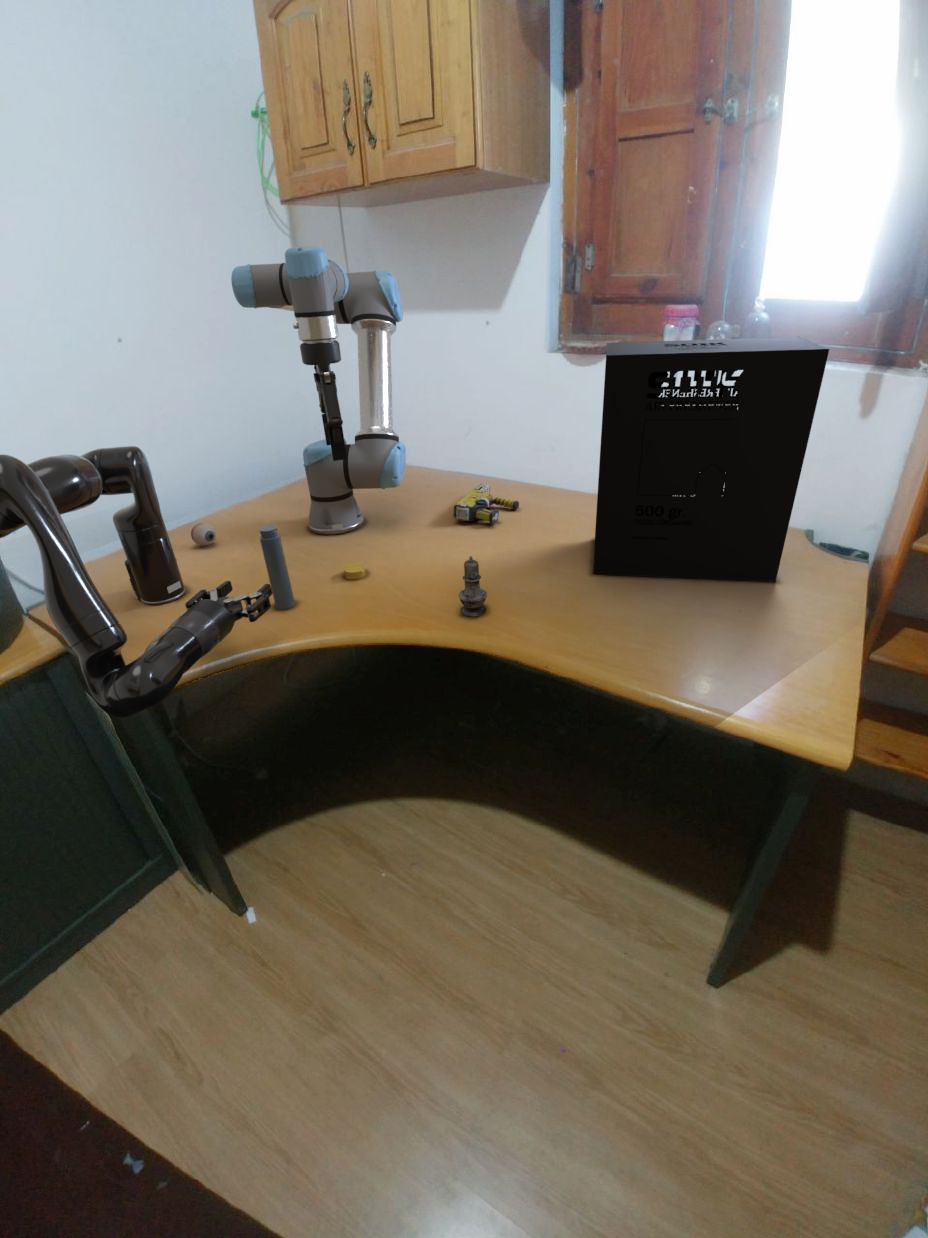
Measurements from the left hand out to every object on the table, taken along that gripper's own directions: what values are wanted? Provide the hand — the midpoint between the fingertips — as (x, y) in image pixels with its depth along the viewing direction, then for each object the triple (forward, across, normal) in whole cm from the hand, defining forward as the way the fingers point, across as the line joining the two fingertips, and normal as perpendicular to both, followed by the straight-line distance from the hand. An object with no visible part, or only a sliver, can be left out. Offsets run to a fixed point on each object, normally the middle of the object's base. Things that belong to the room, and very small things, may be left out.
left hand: (249, 586), depth 116 cm
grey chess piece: (+14, -41, +10) cm, 44 cm away
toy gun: (+71, -33, +10) cm, 79 cm away
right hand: (+27, -10, -19) cm, 34 cm away
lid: (+26, -10, +8) cm, 29 cm away
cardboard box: (+44, -82, +10) cm, 94 cm away
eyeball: (+38, +38, +10) cm, 54 cm away
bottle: (+10, 0, +10) cm, 14 cm away
